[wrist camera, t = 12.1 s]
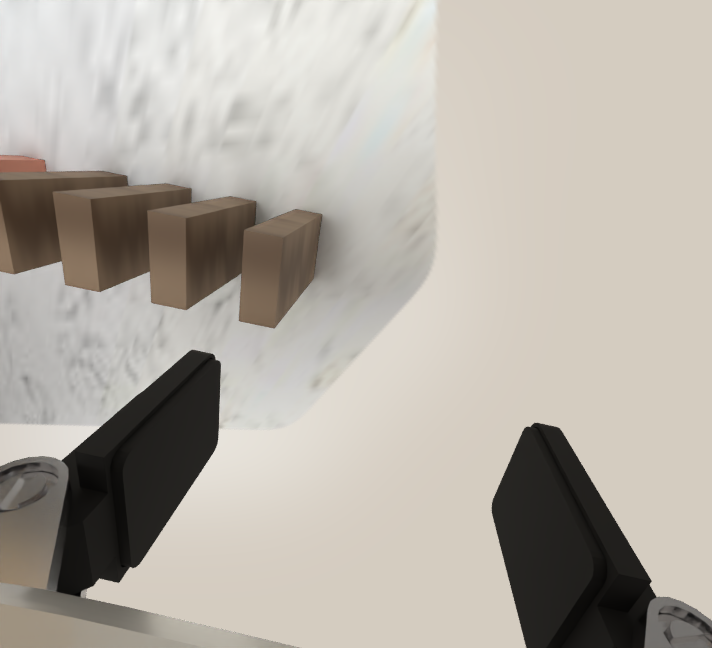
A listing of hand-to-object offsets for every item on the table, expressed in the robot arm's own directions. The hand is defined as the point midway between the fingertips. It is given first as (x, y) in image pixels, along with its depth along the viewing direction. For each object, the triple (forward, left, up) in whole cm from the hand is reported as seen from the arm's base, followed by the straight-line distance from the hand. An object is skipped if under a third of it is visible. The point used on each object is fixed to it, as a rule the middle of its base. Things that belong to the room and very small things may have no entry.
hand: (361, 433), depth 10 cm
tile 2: (0, +11, -20) cm, 23 cm away
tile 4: (0, +21, -20) cm, 29 cm away
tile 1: (0, +6, -20) cm, 21 cm away
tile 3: (0, +16, -20) cm, 26 cm away
